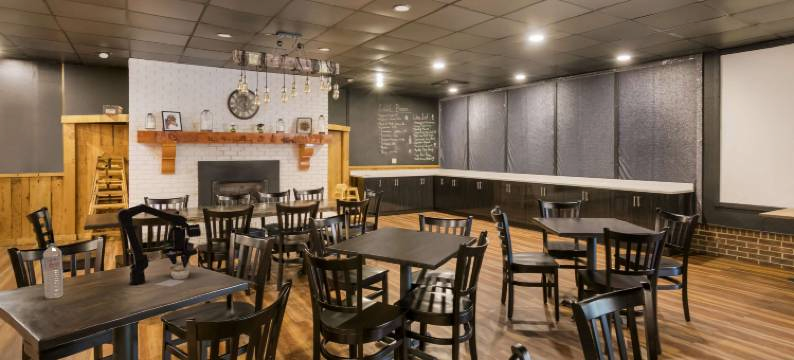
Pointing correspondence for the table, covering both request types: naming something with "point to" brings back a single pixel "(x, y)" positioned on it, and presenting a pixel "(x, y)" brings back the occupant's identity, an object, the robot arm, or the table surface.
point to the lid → (178, 266)
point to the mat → (169, 282)
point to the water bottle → (53, 272)
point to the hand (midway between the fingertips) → (180, 267)
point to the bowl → (180, 273)
